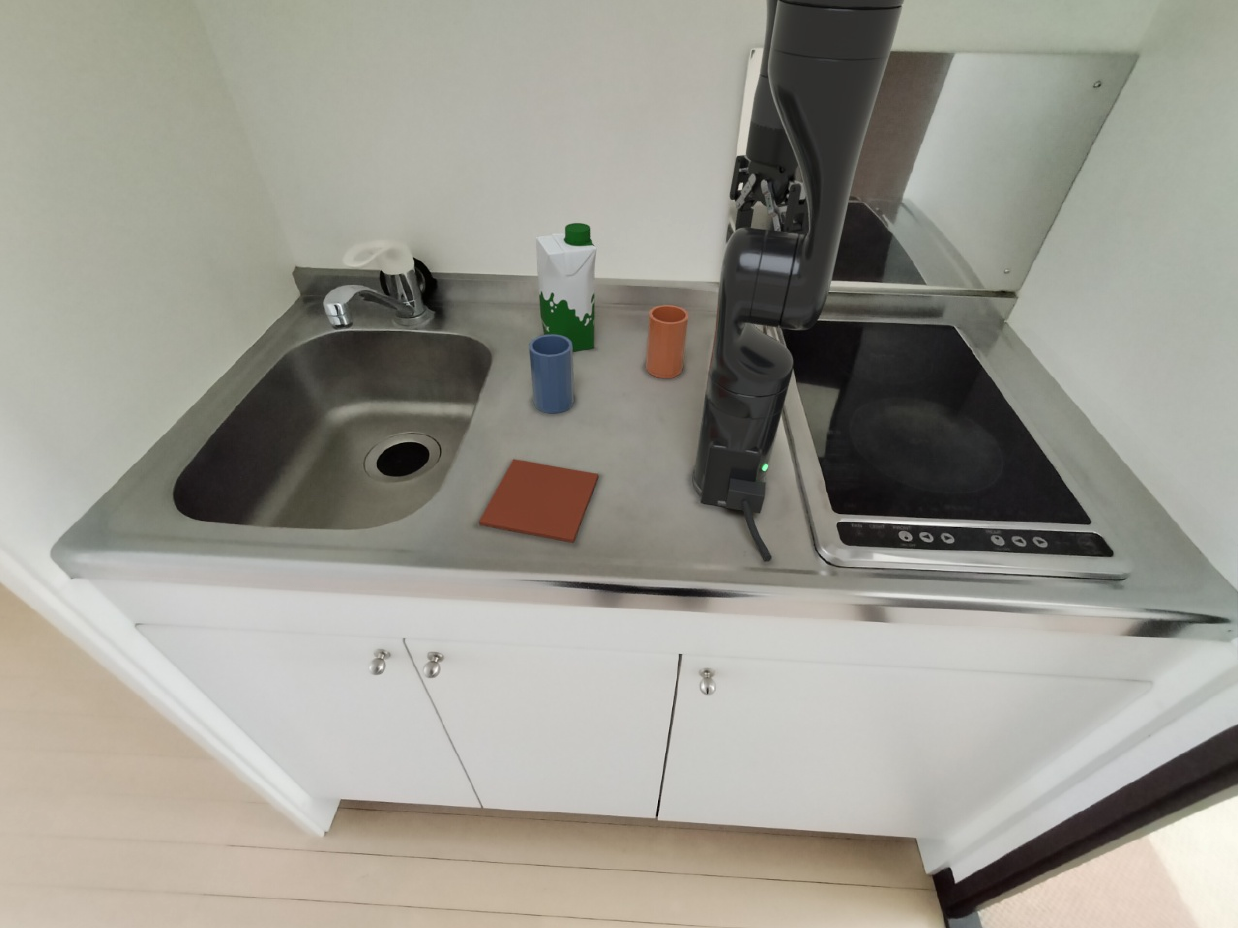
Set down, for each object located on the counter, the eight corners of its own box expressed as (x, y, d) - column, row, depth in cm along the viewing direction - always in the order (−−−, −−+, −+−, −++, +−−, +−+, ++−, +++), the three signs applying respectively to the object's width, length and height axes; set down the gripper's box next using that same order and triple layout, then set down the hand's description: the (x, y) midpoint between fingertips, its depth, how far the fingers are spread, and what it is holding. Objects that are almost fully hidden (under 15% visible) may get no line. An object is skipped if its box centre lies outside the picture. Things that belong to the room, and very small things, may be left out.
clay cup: (679, 380, 98) (685, 325, 92) (642, 375, 99) (645, 320, 93) (684, 361, 103) (691, 307, 96) (649, 356, 104) (653, 303, 97)
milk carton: (600, 350, 105) (601, 236, 92) (550, 358, 102) (543, 242, 89) (584, 326, 111) (583, 216, 98) (537, 334, 109) (529, 222, 95)
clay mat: (573, 542, 72) (573, 539, 71) (479, 524, 73) (478, 521, 73) (598, 477, 80) (598, 473, 80) (513, 462, 82) (513, 458, 82)
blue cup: (567, 416, 90) (565, 359, 84) (528, 410, 91) (522, 352, 85) (578, 393, 95) (577, 337, 88) (541, 387, 96) (537, 331, 89)
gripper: (725, 107, 78) (710, 232, 89) (791, 136, 68) (765, 271, 79) (773, 103, 80) (752, 225, 91) (843, 130, 71) (811, 262, 82)
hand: (758, 246), depth 85 cm, fingers open, 8 cm apart
